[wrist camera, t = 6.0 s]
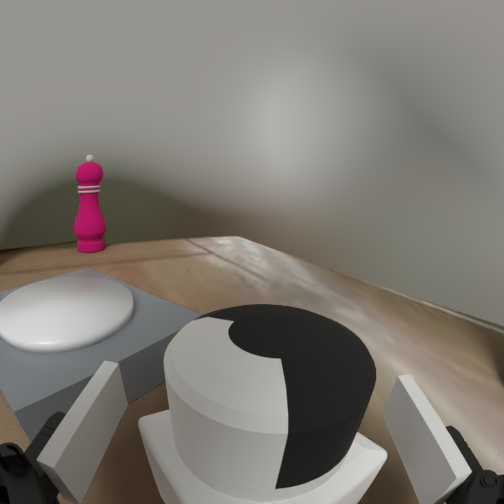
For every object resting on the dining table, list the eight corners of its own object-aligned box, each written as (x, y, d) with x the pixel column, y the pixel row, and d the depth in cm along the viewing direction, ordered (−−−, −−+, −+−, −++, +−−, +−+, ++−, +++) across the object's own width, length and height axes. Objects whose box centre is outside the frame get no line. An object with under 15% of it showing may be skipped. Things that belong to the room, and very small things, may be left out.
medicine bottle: (264, 453, 16) (286, 275, 13) (344, 522, 10) (442, 343, 7) (159, 495, 12) (113, 305, 9) (230, 591, 6) (234, 493, 3)
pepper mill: (113, 248, 60) (113, 153, 55) (86, 255, 54) (85, 153, 49) (94, 243, 63) (94, 155, 58) (69, 249, 57) (67, 156, 52)
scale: (96, 294, 37) (92, 259, 36) (209, 351, 27) (209, 303, 26) (-24, 335, 22) (-36, 293, 20) (38, 454, 12) (7, 398, 11)
